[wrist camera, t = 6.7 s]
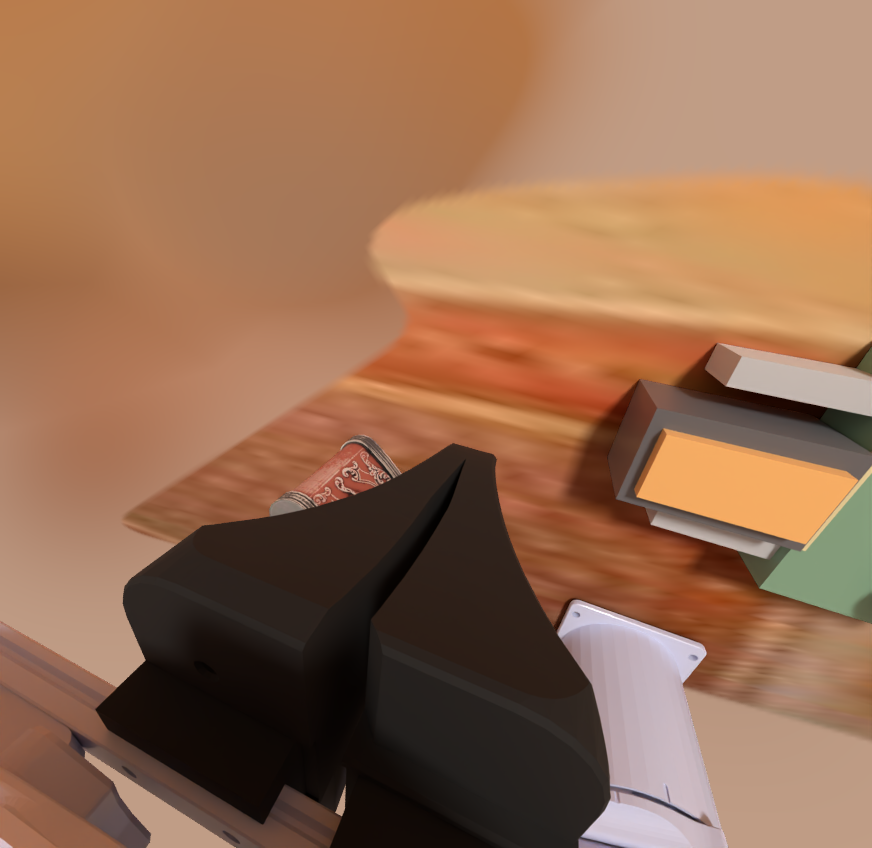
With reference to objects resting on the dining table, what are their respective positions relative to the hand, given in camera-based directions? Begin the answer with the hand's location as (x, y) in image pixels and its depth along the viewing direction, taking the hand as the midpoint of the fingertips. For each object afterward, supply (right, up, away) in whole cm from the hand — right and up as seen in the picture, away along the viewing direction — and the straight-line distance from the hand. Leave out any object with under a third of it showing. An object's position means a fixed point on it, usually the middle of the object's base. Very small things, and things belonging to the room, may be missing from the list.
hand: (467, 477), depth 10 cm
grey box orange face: (+12, +1, +7) cm, 14 cm away
